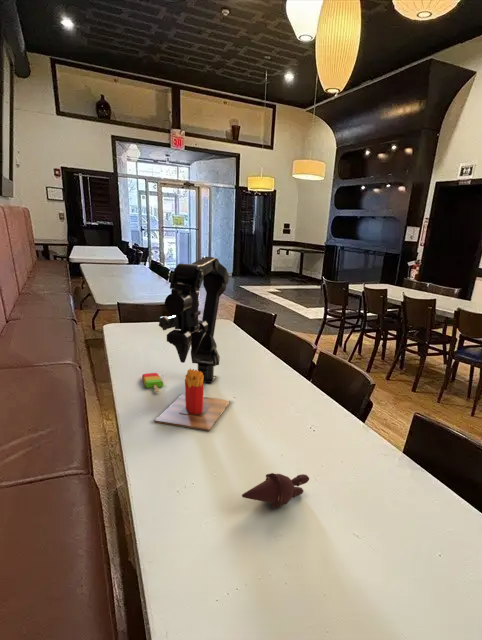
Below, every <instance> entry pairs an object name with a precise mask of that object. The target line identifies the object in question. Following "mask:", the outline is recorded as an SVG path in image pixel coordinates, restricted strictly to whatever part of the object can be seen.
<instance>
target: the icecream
mask: <svg viewBox="0 0 482 640" xmlns="http://www.w3.org/2000/svg"><path fill="white" fill-rule="evenodd" d="M309 480H310V477H309V476H308V474H305V473H302V474H298V475H297V476H295V477H293V478H292V479H291V478H290V477H289V476H286V475H284V474H282V473H274V472H271V473H267V474H265V480H264V481H262V482H260V483H258V484H257V485H256V486H253V487H252V488H251V489H249V490H247V491H246V492H244V493H242V494H241V498H243V499H250V500H254V501H260V502H264V503H269V504H271V506H272V507H273V508H274V509H278V508H280V507H281V506H284V505H285V506H286V505H288V503H289V502H290V501H291V500H292V499H294V498H295V497H297V496H301V495H302V494H304V488H303V487H300V486H302V485H305V484H307V483H308V482H309Z"/></svg>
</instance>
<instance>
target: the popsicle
mask: <svg viewBox="0 0 482 640" xmlns="http://www.w3.org/2000/svg"><path fill="white" fill-rule="evenodd" d="M141 379H142V381H143V383H144V386H145V388H146V389H148V388H149V389H150V388H151V389H152V388H154V391H155V393H160V390H159V388H160V387H161V388H163V386H164V382H163V380H162V379H161V377H160V375H159V373H157V372H150V373H148V372H147V373H142V375H141Z"/></svg>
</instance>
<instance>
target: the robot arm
mask: <svg viewBox="0 0 482 640" xmlns="http://www.w3.org/2000/svg"><path fill="white" fill-rule="evenodd" d="M229 278H230V276H229V273H228V270H227V268H226V267H225V266H224V265H223V264H222V263H220V261H219V258H217V257H213V256H202V257H201V259H200V258H199V259H198V260H196V261H194V262H192V263H178V264H177V265H176V266H175V267H174V270H173V273H172V277H171V280H170V284H169V285H170V286H169V289H170V291H171V292H170V294H168V295H167V296H166V297H165V300H164V307H165V309H166V311H167V312H168V313H169V314H171V315H172V316H171V315H170V316H168V315H165V316H160V317H159V320H158V326H159V327H160V328H161V329H162V331H167V330H168V329H172V328H174V329H173V330H171V331H169V332H168V333H167V334H166V343H167V342H168V343H169V344H171V345H173V346H174V347H175V349H176V352H177V355H178V359H179V361H180V363H183V364H184V363H186V360H187V357H188V355H189V352H190V359H191V363H192V364H197V369H196V370H197V371H199V372H200V371H201V373H203V375H204V379H203V383H205V384H206V383H207V384H212V383H213V382H214V381H215V380H216V379H217V378H218V375H215V373H214V372H215V367H216V366H220V361H221V360H220V359H221V358H220V354H219V351H218V349H217V343H216V340H215V338H214V335H215V330H216V329H215V328H216V323H217V315H218V310H219V303H220V298H221V296H222V294H224V293H225V291H226V289H227V286H228V284H229V281H230V279H229ZM201 286H203V288H204V290H205V293H206V294H205V301H204V306H203V311H201V310H199V291H200V290H201ZM201 312H202V318H201V320H200V319H199V316H200V315H201ZM190 348H191V349H190Z"/></svg>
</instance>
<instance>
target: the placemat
mask: <svg viewBox="0 0 482 640" xmlns="http://www.w3.org/2000/svg"><path fill="white" fill-rule="evenodd" d="M230 404H231V400H227V399H220V398H212V397H207V396H203V411H202V413H199V414H192V413H190V412H189V411H188V410H187V409H186V396H185V393H181V394H180V396H179V397H178V398H176V399H175V400H174V401H173V402H172V403H171V404H170V405H169V406H167V408H166V409H165V410H164V411H163V412H162V413H160V414H159V415H158V417H156V418H155V419H154V423H158V424H162V425H170V426H176V427H181V428H189V429H192V430H200V431H206V432H210V431H211V430H212V428H213V427H214V426H215V424H216V423H217V422H218V420H219V419H220V418H221V416H222V415H223V414H224V412H225V410H226V409H227V408H228V406H229V405H230Z"/></svg>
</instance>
